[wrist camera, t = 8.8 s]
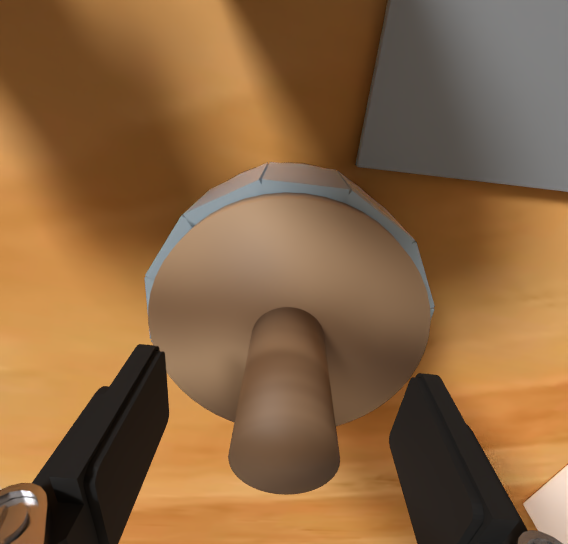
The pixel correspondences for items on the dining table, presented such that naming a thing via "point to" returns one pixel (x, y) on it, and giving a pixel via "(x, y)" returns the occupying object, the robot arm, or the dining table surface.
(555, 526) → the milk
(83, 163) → the dining table surface
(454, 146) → the mat
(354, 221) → the lid
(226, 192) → the bowl
